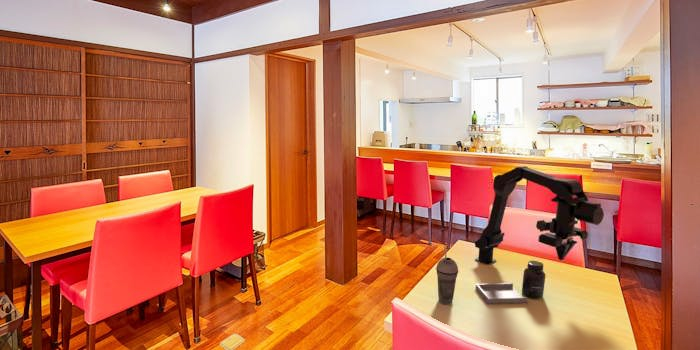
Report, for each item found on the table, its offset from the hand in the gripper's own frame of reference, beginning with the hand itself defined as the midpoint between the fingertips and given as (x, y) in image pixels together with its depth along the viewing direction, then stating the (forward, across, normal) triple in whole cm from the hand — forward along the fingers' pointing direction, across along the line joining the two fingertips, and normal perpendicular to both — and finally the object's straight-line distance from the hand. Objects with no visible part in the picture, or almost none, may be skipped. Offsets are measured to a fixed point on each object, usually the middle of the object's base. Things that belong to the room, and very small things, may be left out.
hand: (560, 259), depth 123 cm
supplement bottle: (+13, +8, -4) cm, 16 cm away
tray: (+13, +19, -8) cm, 24 cm away
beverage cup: (+13, +38, -14) cm, 43 cm away
